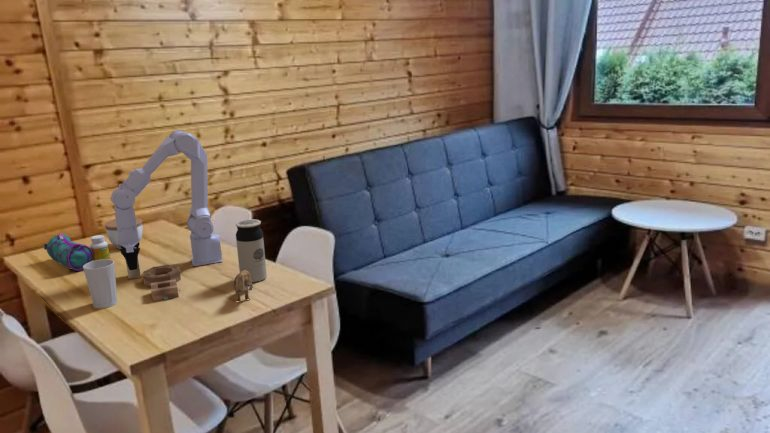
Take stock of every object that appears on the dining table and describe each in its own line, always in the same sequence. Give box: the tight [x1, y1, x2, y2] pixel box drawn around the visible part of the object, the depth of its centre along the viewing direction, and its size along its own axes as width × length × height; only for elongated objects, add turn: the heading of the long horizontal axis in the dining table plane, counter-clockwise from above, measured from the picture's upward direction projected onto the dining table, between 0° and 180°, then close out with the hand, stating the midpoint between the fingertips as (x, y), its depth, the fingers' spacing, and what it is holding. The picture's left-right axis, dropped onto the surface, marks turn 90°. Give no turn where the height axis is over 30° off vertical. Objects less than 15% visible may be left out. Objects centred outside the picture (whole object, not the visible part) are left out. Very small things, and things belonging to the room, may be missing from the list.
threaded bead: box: [150, 279, 179, 302], centre depth 175 cm, size 7×7×3 cm
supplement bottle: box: [89, 234, 111, 261], centre depth 202 cm, size 5×5×10 cm
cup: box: [83, 258, 119, 309], centre depth 169 cm, size 8×8×12 cm
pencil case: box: [43, 233, 93, 272], centre depth 203 cm, size 21×9×10 cm, turn 47°
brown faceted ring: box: [142, 264, 182, 287], centre depth 186 cm, size 10×10×3 cm
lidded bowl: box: [104, 217, 144, 250], centre depth 221 cm, size 13×13×11 cm
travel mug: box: [235, 218, 268, 283], centre depth 183 cm, size 8×8×18 cm
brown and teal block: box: [125, 247, 141, 280], centre depth 190 cm, size 4×4×10 cm
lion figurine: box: [232, 270, 254, 302], centre depth 171 cm, size 15×5×9 cm, turn 14°
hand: (133, 267), depth 190 cm, fingers closed on brown and teal block, 3 cm apart
